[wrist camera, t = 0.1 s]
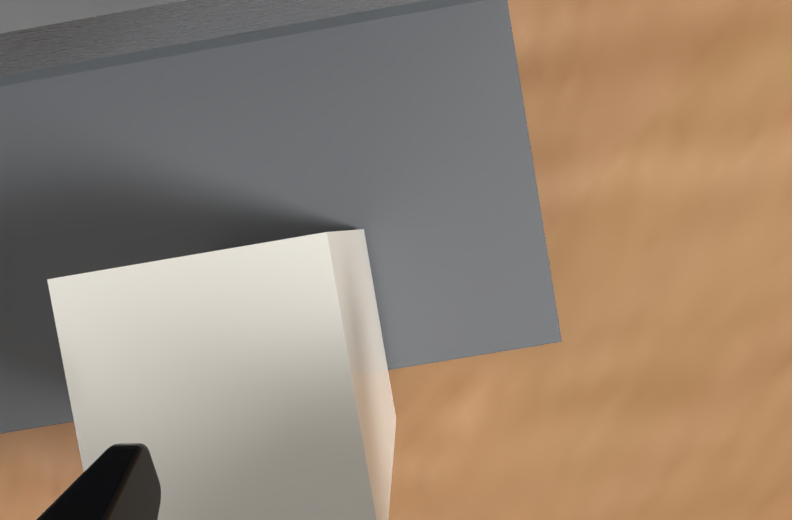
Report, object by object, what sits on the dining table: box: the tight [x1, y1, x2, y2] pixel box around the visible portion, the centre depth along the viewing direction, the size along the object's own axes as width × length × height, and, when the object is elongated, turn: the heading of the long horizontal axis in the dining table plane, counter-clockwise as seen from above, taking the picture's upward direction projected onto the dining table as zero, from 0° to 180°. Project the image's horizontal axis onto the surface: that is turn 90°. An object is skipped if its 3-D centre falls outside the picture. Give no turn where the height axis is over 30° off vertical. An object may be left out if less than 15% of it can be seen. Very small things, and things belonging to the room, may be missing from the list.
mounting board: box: [0, 0, 562, 433], centre depth 17 cm, size 12×24×15 cm, turn 100°
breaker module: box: [47, 229, 396, 520], centre depth 18 cm, size 7×5×10 cm
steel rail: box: [0, 0, 425, 76], centre depth 17 cm, size 1×23×3 cm, turn 100°
